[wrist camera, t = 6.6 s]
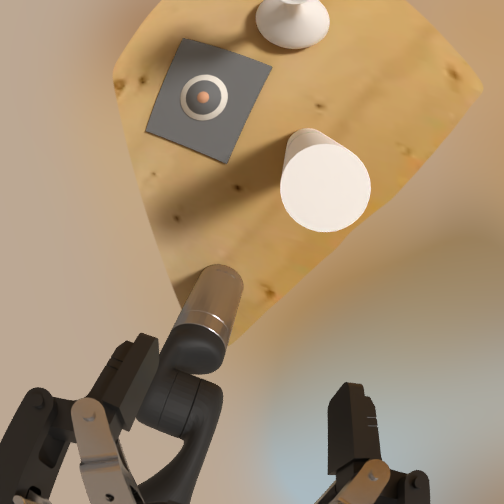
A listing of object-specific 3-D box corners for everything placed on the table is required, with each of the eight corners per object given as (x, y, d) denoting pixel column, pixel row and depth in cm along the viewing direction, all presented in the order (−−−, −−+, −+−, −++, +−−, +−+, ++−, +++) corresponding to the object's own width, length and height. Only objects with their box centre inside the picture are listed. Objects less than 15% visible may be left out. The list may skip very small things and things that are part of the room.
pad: (227, 163, 45) (225, 164, 45) (147, 130, 44) (144, 131, 43) (272, 67, 37) (271, 66, 36) (184, 38, 35) (182, 37, 35)
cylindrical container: (278, 157, 44) (263, 204, 22) (299, 120, 40) (309, 126, 19) (316, 178, 45) (338, 246, 23) (338, 142, 41) (387, 176, 19)
